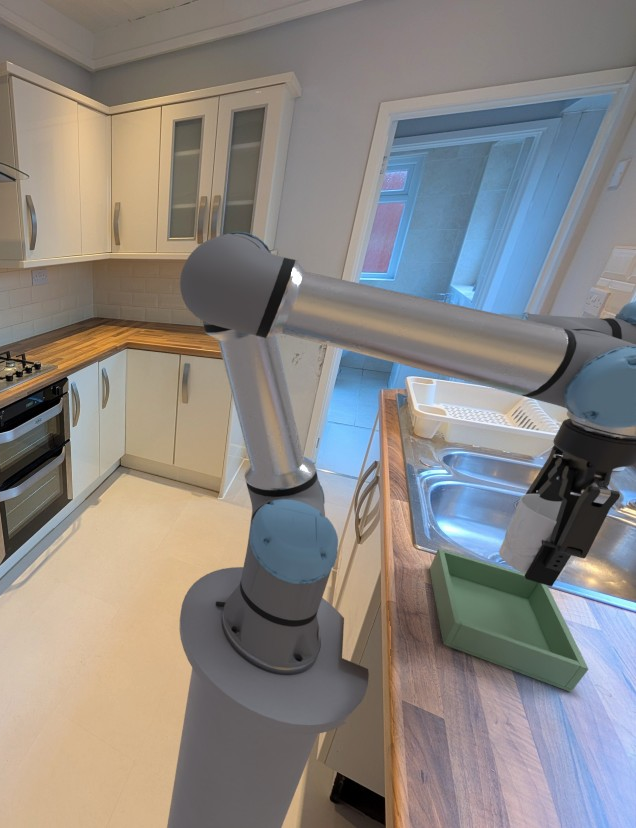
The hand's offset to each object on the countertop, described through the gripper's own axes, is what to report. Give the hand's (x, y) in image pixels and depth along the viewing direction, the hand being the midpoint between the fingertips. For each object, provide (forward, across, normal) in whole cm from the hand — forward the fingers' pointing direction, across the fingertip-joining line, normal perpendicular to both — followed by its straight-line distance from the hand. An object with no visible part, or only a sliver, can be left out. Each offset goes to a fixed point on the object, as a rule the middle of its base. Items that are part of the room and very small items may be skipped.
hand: (529, 562), depth 64 cm
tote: (+14, +2, 0) cm, 14 cm away
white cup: (0, 0, 0) cm, 0 cm away
